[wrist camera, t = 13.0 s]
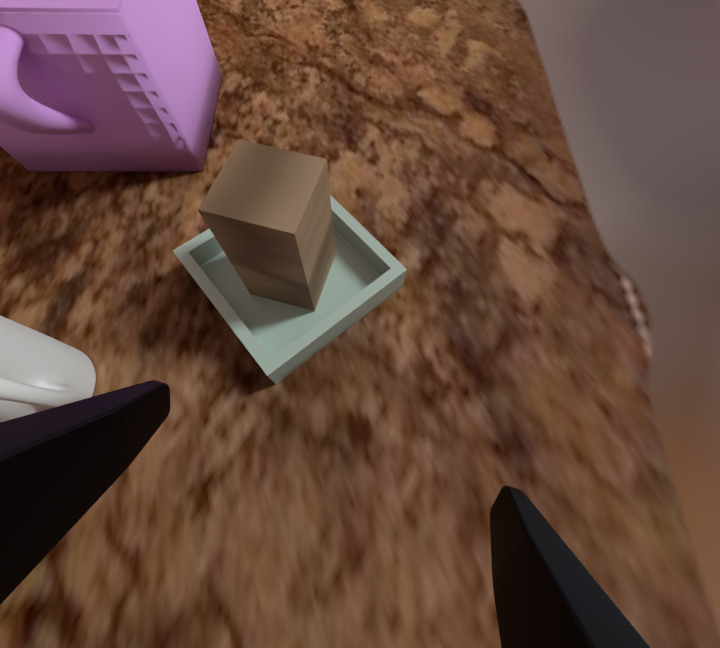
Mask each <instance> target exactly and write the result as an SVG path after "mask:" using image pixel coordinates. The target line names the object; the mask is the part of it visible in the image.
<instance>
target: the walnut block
mask: <svg viewBox="0 0 720 648" xmlns="http://www.w3.org/2000/svg"><path fill="white" fill-rule="evenodd" d="M198 211H199V213H200V214H201V216H202V217H203V219H204V221H205V222H206V224H207V225H208V227H209V229H210V230H211V232H212V233H213V235H214V237H215V238H216V240H217V241H218V243H219V245H220V246H221V248H222V249H223V251H224V253H225V254H226V256H227V257H228V259H229V261H230V262H231V264H232V265H233V267H234V269H235V270H236V272H237V273H238V275H239V277H240V278H241V280H242V281H243V283H244V285H245V286H246V288H247V289H248V291H249V293H250V294H252V295H256V296H260V297H263V298H267V299H271V300H274V301H278V302H282V303H286V304H289V305H293V306H297V307H301V308H304V309H308V310H312V311H315V309H316V307H317V304H318V301H319V298H320V296H321V293H322V290H323V287H324V285H325V282H326V279H327V277H328V274H329V271H330V268H331V266H332V263H333V260H334V257H335V246H334V234H333V223H332V212H331V200H330V189H329V178H328V166H327V159H324V158H319V157H315V156H310V155H306V154H302V153H297V152H293V151H288V150H284V149H280V148H275V147H271V146H266V145H262V144H258V143H253V142H249V141H244V140H240V139H239V140H238V142H237V144H236V145H235V147H234V149H233V151H232V152H231V154H230V156H229V157H228V159H227V161H226V163H225V164H224V166H223V168H222V169H221V171H220V173H219V174H218V176H217V178H216V180H215V181H214V183H213V185H212V186H211V188H210V190H209V192H208V193H207V195H206V197H205V198H204V200H203V202H202V204H201V205H200V207H199V209H198Z"/></svg>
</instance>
